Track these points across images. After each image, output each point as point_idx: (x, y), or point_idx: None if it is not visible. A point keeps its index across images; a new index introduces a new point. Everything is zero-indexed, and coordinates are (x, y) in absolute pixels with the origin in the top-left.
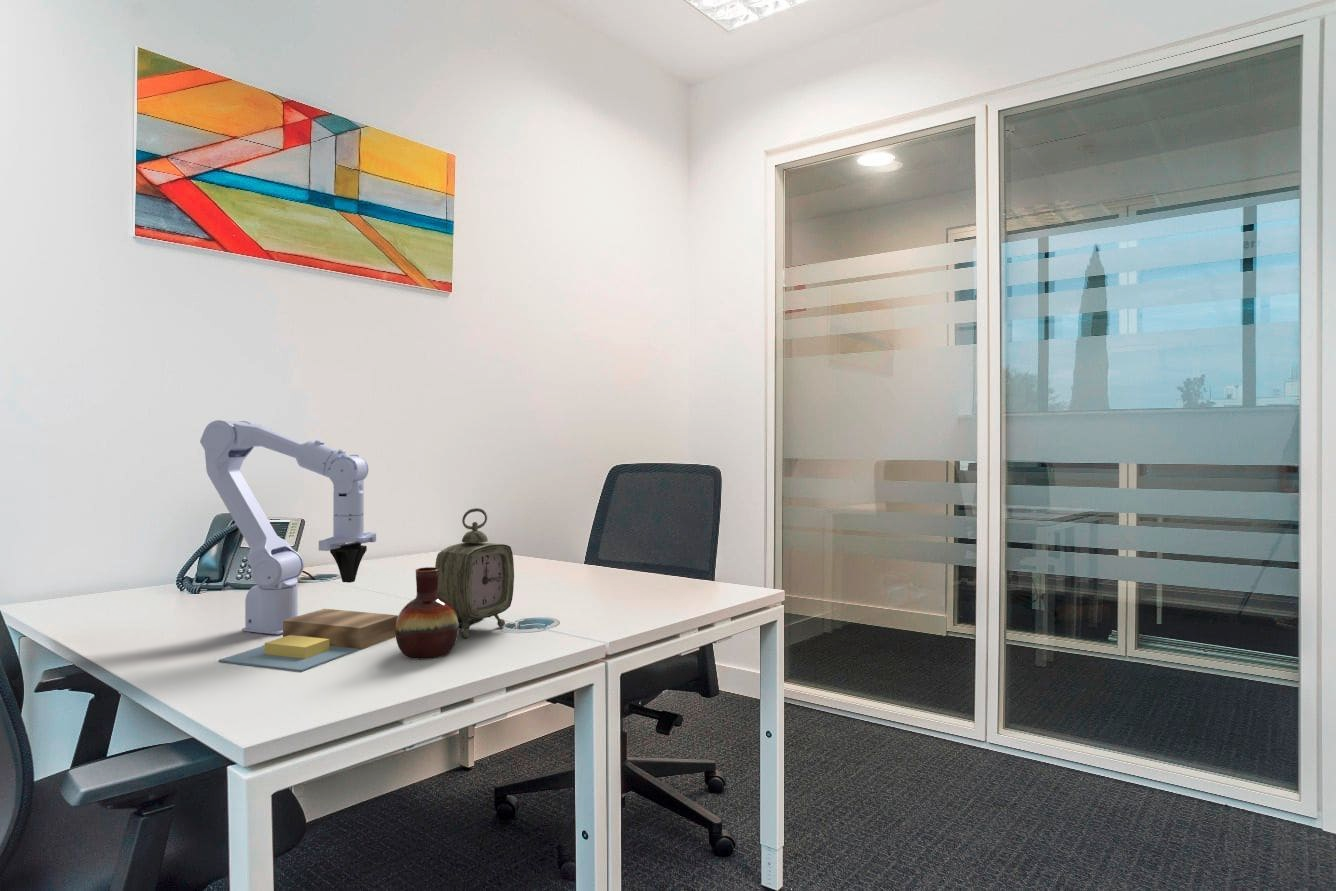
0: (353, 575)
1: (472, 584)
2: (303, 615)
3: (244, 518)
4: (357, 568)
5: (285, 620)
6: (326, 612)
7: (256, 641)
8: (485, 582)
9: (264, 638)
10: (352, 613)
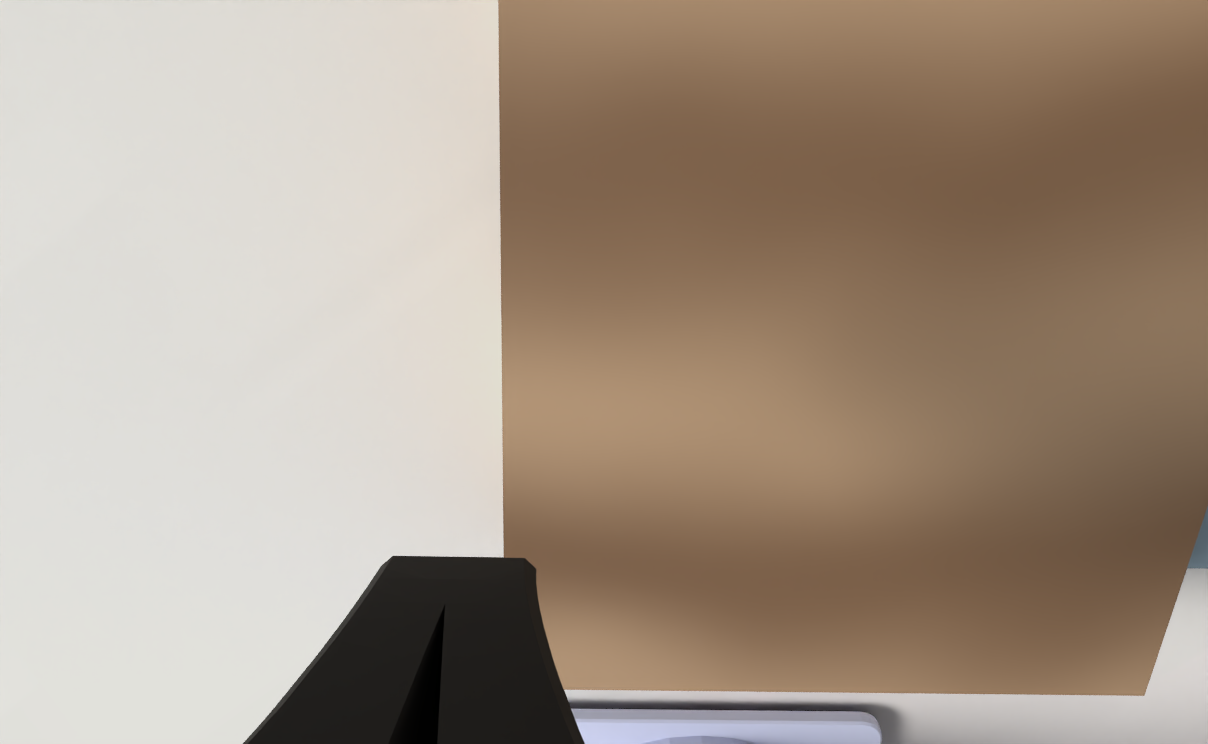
0: (456, 628)
1: None
2: (880, 666)
3: None
4: (293, 730)
5: (1144, 672)
6: (676, 548)
7: (1078, 727)
8: None
9: (977, 737)
10: (624, 213)
